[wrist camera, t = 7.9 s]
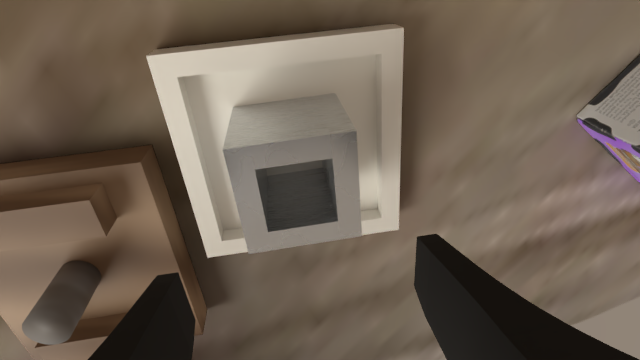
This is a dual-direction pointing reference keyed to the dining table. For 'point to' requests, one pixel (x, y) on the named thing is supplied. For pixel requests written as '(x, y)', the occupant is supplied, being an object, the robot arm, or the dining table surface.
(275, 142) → the sleeve
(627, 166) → the candy box
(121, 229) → the vise block
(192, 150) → the dish
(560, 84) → the dining table surface
